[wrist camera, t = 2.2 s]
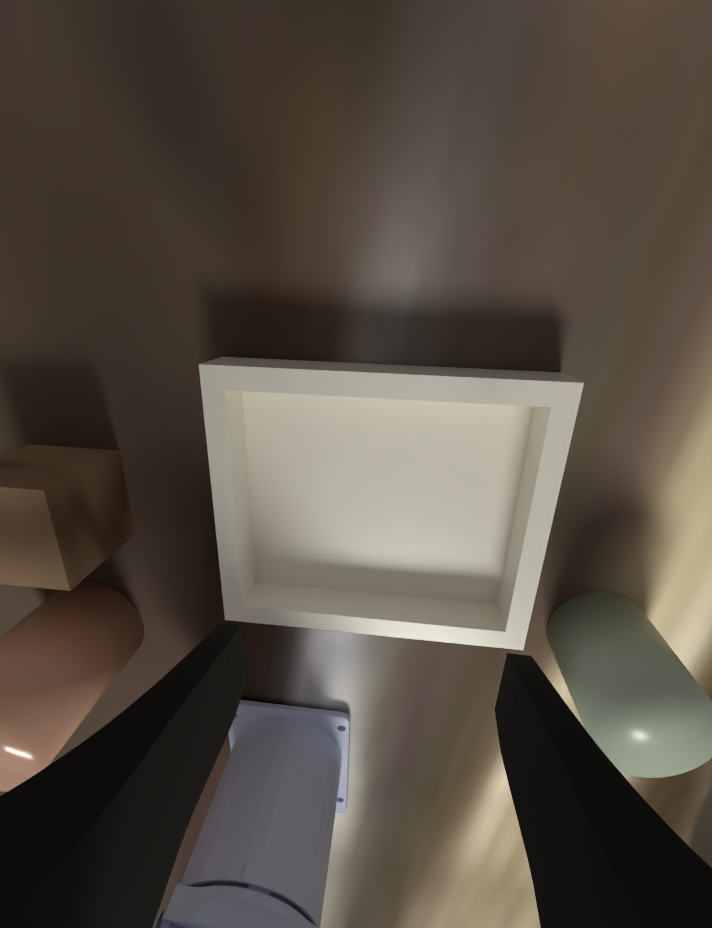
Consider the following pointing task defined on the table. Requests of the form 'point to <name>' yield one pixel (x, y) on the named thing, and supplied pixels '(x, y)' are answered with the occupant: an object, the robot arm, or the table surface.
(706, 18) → the table surface
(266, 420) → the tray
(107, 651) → the peach rounded cylinder
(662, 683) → the sage rounded cylinder
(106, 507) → the walnut cube
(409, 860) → the table surface
